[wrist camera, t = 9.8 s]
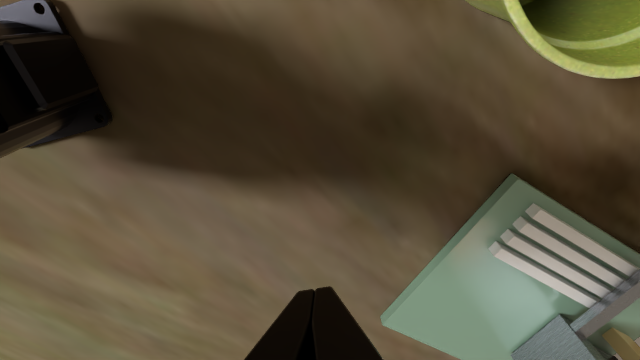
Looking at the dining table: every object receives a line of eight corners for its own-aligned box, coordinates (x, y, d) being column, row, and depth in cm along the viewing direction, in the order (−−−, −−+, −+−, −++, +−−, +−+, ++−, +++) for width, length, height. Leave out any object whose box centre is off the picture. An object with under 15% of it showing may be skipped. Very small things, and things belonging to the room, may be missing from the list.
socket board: (380, 316, 27) (391, 367, 23) (511, 173, 21) (553, 207, 18) (546, 390, 31) (579, 443, 27) (689, 285, 26) (754, 332, 22)
